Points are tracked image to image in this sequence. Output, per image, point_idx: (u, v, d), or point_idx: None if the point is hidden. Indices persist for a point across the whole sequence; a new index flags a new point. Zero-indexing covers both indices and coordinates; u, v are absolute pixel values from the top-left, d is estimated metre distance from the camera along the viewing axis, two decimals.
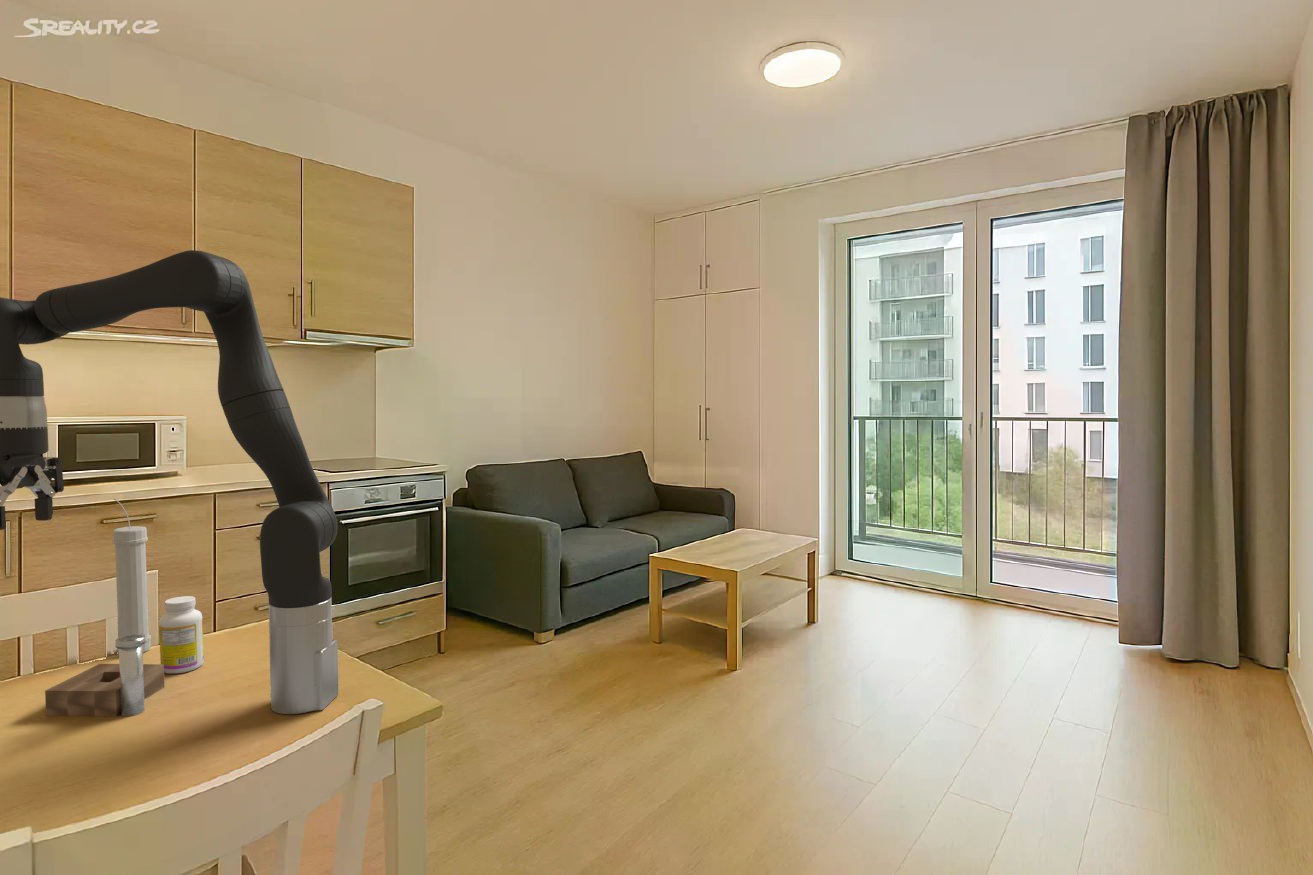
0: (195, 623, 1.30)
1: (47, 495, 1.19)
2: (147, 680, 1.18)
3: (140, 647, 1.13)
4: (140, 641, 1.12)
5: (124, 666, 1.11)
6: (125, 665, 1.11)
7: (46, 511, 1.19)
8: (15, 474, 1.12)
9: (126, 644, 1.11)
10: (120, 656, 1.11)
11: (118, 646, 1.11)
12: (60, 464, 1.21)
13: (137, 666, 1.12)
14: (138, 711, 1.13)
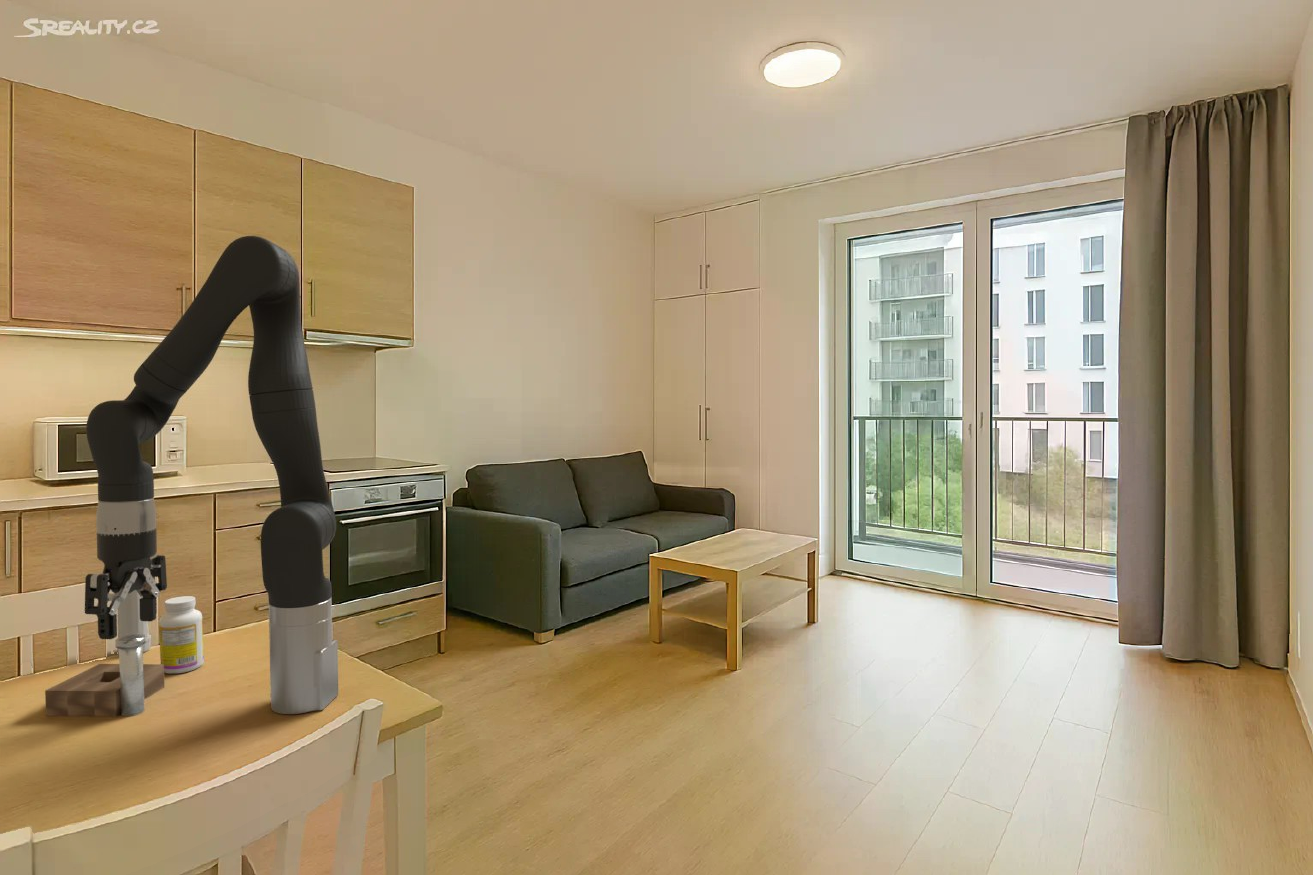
0: (195, 623, 1.30)
1: (152, 595, 1.16)
2: (147, 680, 1.18)
3: (140, 647, 1.13)
4: (140, 641, 1.12)
5: (124, 666, 1.11)
6: (125, 665, 1.11)
7: (151, 612, 1.16)
8: (126, 580, 1.10)
9: (126, 644, 1.11)
10: (120, 656, 1.11)
11: (118, 646, 1.11)
12: (164, 562, 1.18)
13: (137, 666, 1.12)
14: (138, 711, 1.13)
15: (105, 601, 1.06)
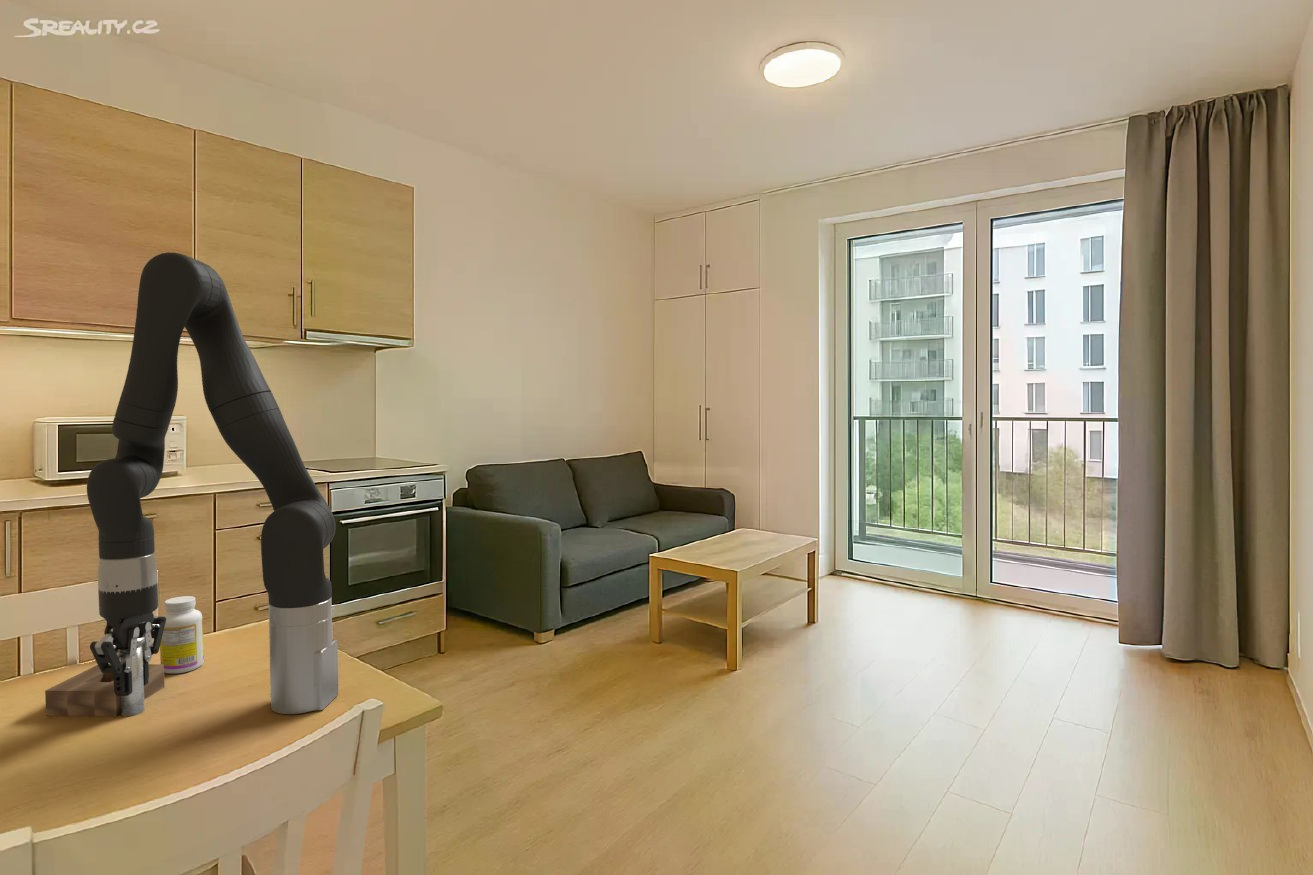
0: (195, 623, 1.30)
1: (144, 660, 1.14)
2: None
3: (140, 647, 1.13)
4: (140, 641, 1.12)
5: None
6: None
7: (143, 677, 1.14)
8: (130, 638, 1.10)
9: None
10: None
11: None
12: (163, 624, 1.18)
13: (137, 666, 1.12)
14: (138, 711, 1.13)
15: (117, 661, 1.08)
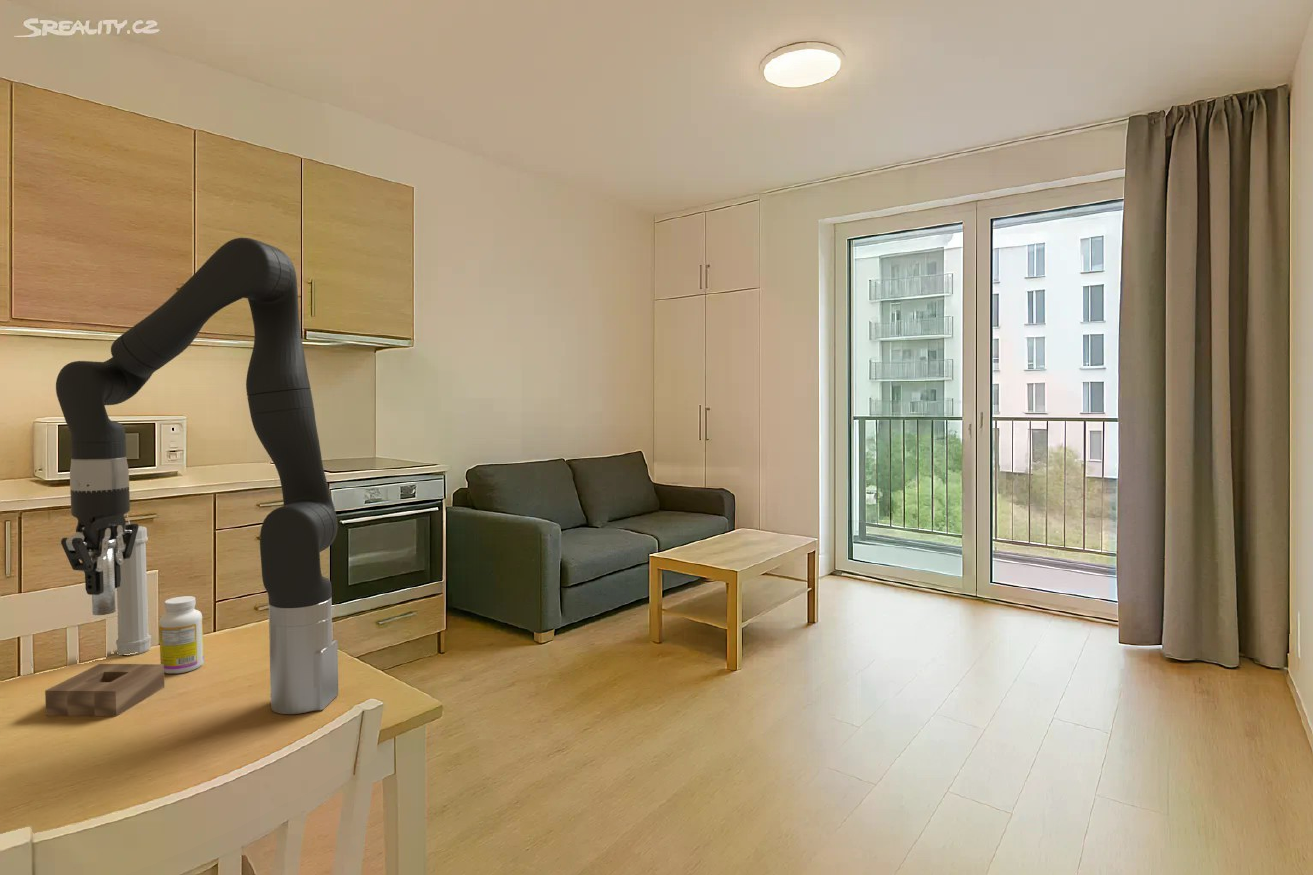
0: (195, 623, 1.30)
1: (116, 563, 1.17)
2: (147, 680, 1.18)
3: (111, 549, 1.16)
4: (111, 542, 1.15)
5: None
6: None
7: (115, 579, 1.17)
8: (101, 537, 1.13)
9: None
10: None
11: None
12: (135, 531, 1.21)
13: (108, 567, 1.15)
14: (109, 611, 1.16)
15: (88, 559, 1.11)
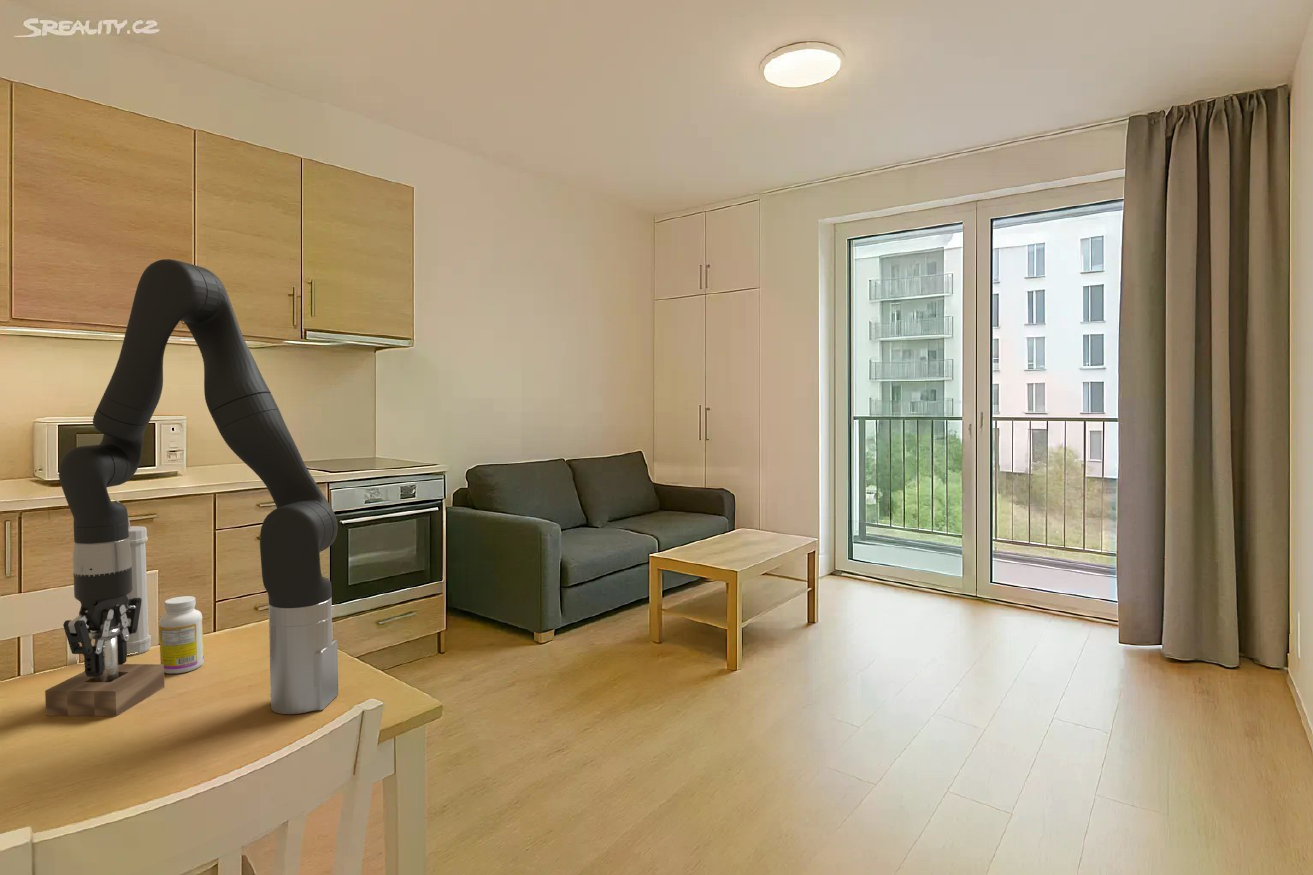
0: (195, 623, 1.30)
1: (122, 639, 1.19)
2: (147, 680, 1.18)
3: (115, 638, 1.17)
4: (114, 632, 1.16)
5: None
6: None
7: (121, 655, 1.19)
8: (104, 619, 1.14)
9: None
10: None
11: None
12: (139, 605, 1.22)
13: (112, 656, 1.16)
14: None
15: (88, 642, 1.12)
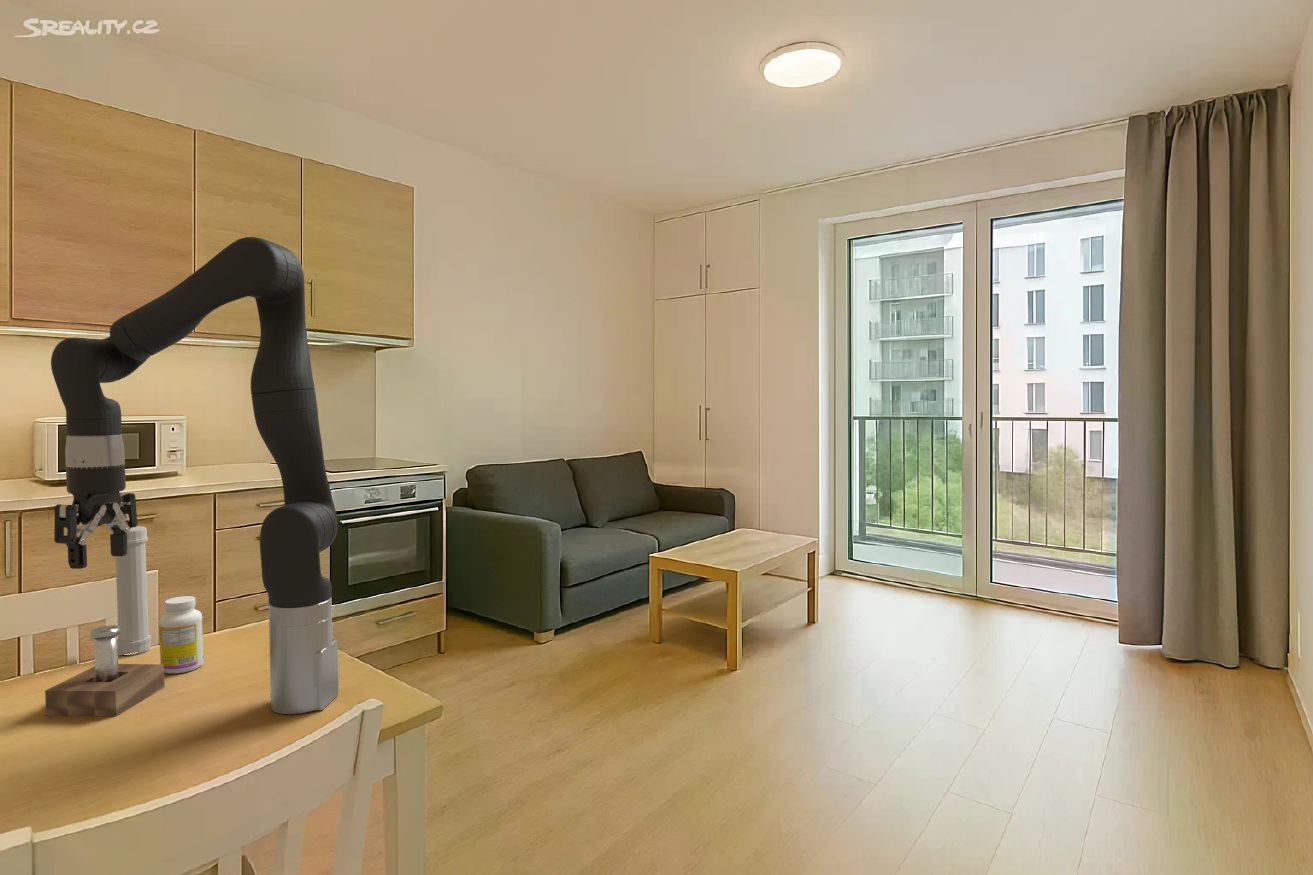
0: (195, 623, 1.30)
1: (122, 531, 1.20)
2: (147, 680, 1.18)
3: (115, 638, 1.17)
4: (114, 632, 1.16)
5: (99, 656, 1.15)
6: (100, 655, 1.15)
7: (121, 547, 1.20)
8: (95, 512, 1.13)
9: (101, 635, 1.15)
10: (95, 646, 1.15)
11: (93, 636, 1.15)
12: (134, 500, 1.22)
13: (112, 656, 1.16)
14: None
15: (74, 530, 1.10)
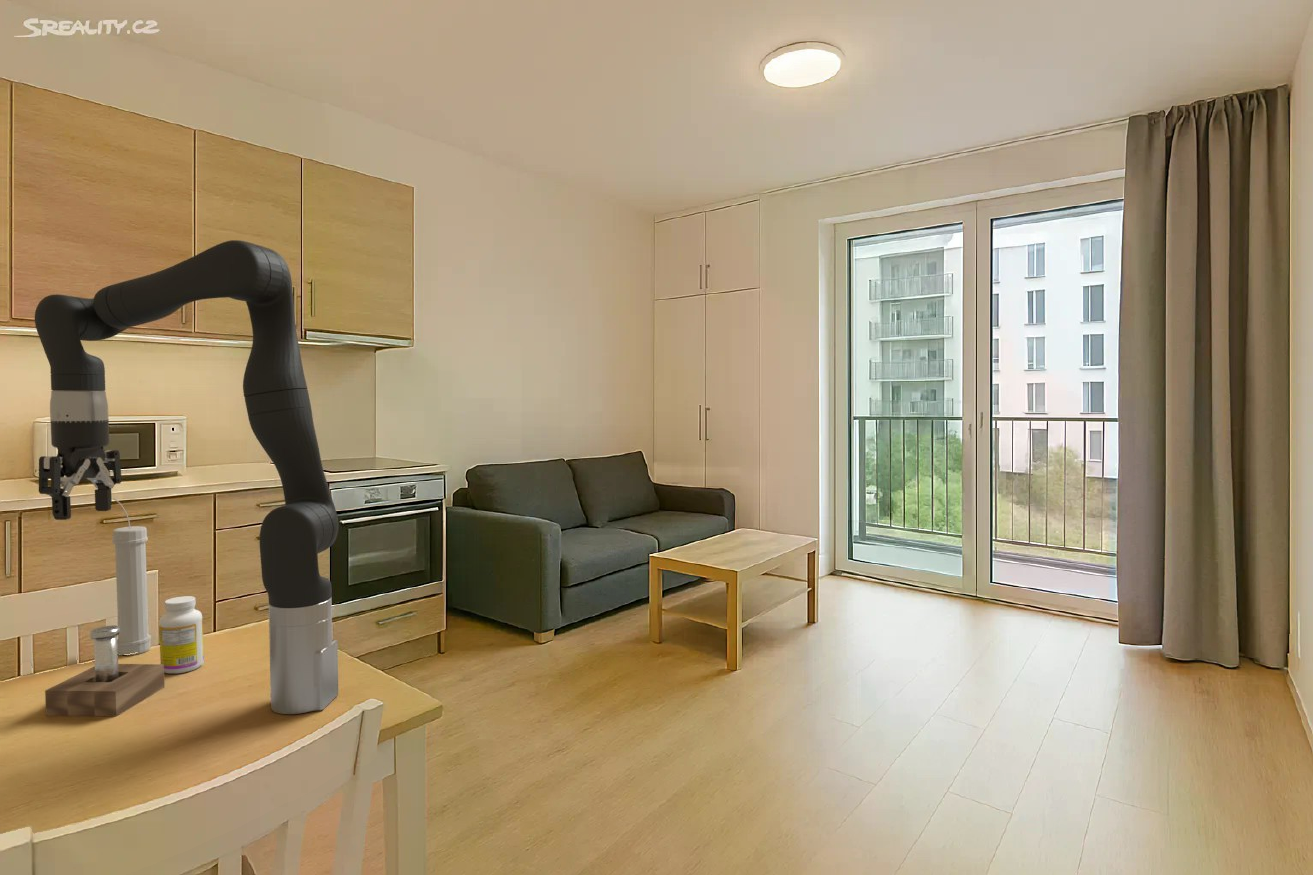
0: (195, 623, 1.30)
1: (107, 486, 1.23)
2: (147, 680, 1.18)
3: (115, 638, 1.17)
4: (114, 632, 1.16)
5: (99, 656, 1.15)
6: (99, 655, 1.15)
7: (106, 502, 1.23)
8: (79, 465, 1.16)
9: (100, 635, 1.15)
10: (95, 646, 1.15)
11: (93, 636, 1.15)
12: (118, 457, 1.25)
13: (112, 656, 1.16)
14: None
15: (58, 482, 1.13)
